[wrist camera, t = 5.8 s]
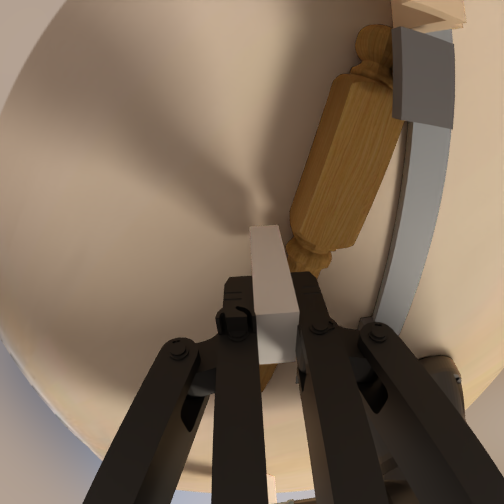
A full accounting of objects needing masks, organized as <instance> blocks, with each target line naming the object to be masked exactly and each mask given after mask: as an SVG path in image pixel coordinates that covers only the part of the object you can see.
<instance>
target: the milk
mask: <svg viewBox="0 0 504 504" xmlns="http://www.w3.org/2000/svg"><path fill="white" fill-rule="evenodd" d="M267 487H268V502H269V504H274V503H277V499H276V485H275V477H274V476H272V475H269V474H267Z"/></svg>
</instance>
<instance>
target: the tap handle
mask: <svg viewBox="0 0 504 504" xmlns="http://www.w3.org/2000/svg"><path fill="white" fill-rule="evenodd" d="M391 29H393V28H391V27H388V26H385V25H380V24H375V25H368V26H366V27H364V28H363V29H361V30H360V32H359V34H358V36H357V40H356V43H355V49H356V53H357V55H358V57H359V58H360V59H361V61H362V62H361V63H360V64H359V65H357V66H354V67H352V68H351V71H350V74H340V75H339V76H338V77H337V78H336V79H335V80H334V81H333V83H332V86H331V89H330V93H329V96H328V99H327V102H326V105H325V108H324V111H323V114H322V117H321V120H320V123H319V126H318V129H317V132H316V135H315V138H314V141H313V144H312V147H311V150H310V153H309V156H308V159H307V162H306V165H305V168H304V171H303V174H302V177H301V180H300V183H299V186H298V189H297V192H296V194H295V197H294V200H293V203H292V206H291V209H290V225H291V228H292V232H293V235H294V237H293V238H292V239H291V240H290V241H289V242H288V243H287V244H286V251H287V254H288V258H287V262H288V266H289V270H290V272H305V271H309V272H310V273H312V274H313V275H314V276H315V277H316V279H317V278H318V275H319V273H320V271H321V269H324V268H328V266H329V264H330V262H331V260H332V255H331V251H336V249H341V248H347V247H351V246H353V245H354V243H355V241H356V239H357V237H358V235H359V233H360V230H361V228H362V226H363V224H364V222H365V219H366V217H367V215H368V213H369V210H370V208H371V206H372V204H373V201H374V199H375V196H376V194H377V192H378V189H379V187H380V185H381V182H382V180H383V177H384V175H385V172H386V170H387V167H388V165H389V162H390V159H391V157H392V154H393V152H394V149H395V146H396V143H397V141H398V138H399V135H400V132H401V130H402V127H403V124H404V120H399V119H395V118H392V104H393V77H392V73H393V52H392V32H391ZM277 365H278V363H273V364H259V369H260V384H261V392H263V390H264V389H265V387H266V385H267V383H268V382H269V380H270V379H271V377H272V375H273V373H274V371H275V369H276V367H277Z"/></svg>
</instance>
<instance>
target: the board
mask: <svg viewBox="0 0 504 504" xmlns="http://www.w3.org/2000/svg"><path fill="white" fill-rule="evenodd" d="M391 9H392V20H393V29H391V32H392V52H393V104H392V118H395V119H399V120H404V121H408V130H407V142H406V152H405V162H404V170H403V178H402V185H401V192H400V198H399V204H398V210H397V216H396V221H395V227H394V232H393V237H392V241H391V246H390V251H389V255H388V259H387V264H386V268H385V272H384V276H383V280H382V284H381V287H380V291H379V295H378V298H377V302H376V305H375V309H374V312H373V315H372V317H365V318H361V319H360V323H359V326H358V330H360V331H361V329H362V327H363V326H364V325H366V324H367V323H370V322H382V323H384V324H386V325H388V326H389V327H391V328H392V329H393V330H394V332H395V333H396V334H397V335H398V336H399V334H400V332H401V329H402V327H403V325H404V322H405V320H406V317H407V314H408V312H409V309H410V306H411V304H412V301H413V298H414V295H415V293H416V290H417V287H418V284H419V281H420V278H421V275H422V272H423V268H424V265H425V262H426V259H427V255H428V252H429V248H430V244H431V241H432V237H433V233H434V229H435V225H436V221H437V216H438V212H439V207H440V203H441V198H442V193H443V187H444V182H445V176H446V170H447V163H448V156H449V148H450V139H451V129H452V130H453V118H454V101H455V54H454V44H453V40H452V29H457V28H463V23H466V15H465V8H464V2H463V0H391Z"/></svg>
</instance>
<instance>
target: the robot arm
mask: <svg viewBox="0 0 504 504" xmlns="http://www.w3.org/2000/svg"><path fill="white" fill-rule="evenodd" d="M249 228H250V245H251V262H252V276H240V277H229V279H228V280H227V282H226V283H225V285H224V301H223V308H222V309H220V310H219V311H218V312H217V315H216V317H215V319H216V324H217V330H218V334H217V335H216V336H214V337H213V338H211V339H209V340H206V341H203V342H200V343H195V342H194V341H193V340H191V339H188V338H175V339H171V340H170V341H168V342H167V343H165V344H164V346H163V347H162V348H161V350H160V352H159V354H158V355H157V357H156V359H155V361H154V363H153V365H152V367H151V368H150V370H149V372H148V374H147V376H146V378H145V380H144V381H143V383H142V385H141V387H140V389H139V391H138V393H137V395H136V397H135V399H134V400H133V402H132V404H131V406H130V408H129V410H128V412H127V414H126V416H125V418H124V420H123V422H122V424H121V426H120V428H119V430H118V432H117V433H116V435H115V437H114V439H113V441H112V443H111V445H110V447H109V449H108V451H107V454H106V456H105V458H104V460H103V462H102V464H101V466H100V468H99V470H98V472H97V474H96V476H95V478H94V480H93V482H92V485H91V487H90V489H89V491H88V493H87V495H86V497H85V499H84V502H83V504H170V503H171V500H172V498H173V494H174V492H175V490H176V487H177V484H178V482H179V479H180V476H181V473H182V471H183V468H184V465H185V463H186V460H187V457H188V454H189V452H190V449H191V446H192V443H193V441H194V438H195V435H196V432H197V430H198V427H199V424H200V421H201V419H202V416H203V413H204V410H205V408H206V405H207V402H208V399H209V397H210V394H213V393H215V406H214V429H213V456H212V498H211V504H269V502H268V487H267V473H266V458H265V443H264V428H263V413H262V398H261V384H260V369H259V364H273V363H286V362H295V361H296V358H297V363H298V366H297V376H296V384H297V383H299V389H300V395H301V401H302V407H303V414H304V420H305V427H306V433H307V440H308V447H309V454H310V460H311V467H312V475H313V482H314V489H315V498H309V499H303V500H296V501H294V500H293V499H292V500H288V501H287V502H281V503H274V504H504V477H503V476H502V474H501V473H500V471H499V470H498V468H497V467H496V465H495V463H494V462H493V460H492V459H491V458H490V456H489V454H488V453H487V451H486V450H485V449H484V447H483V446H482V444H481V443H480V441H479V440H478V439H477V437H476V436H475V434H474V433H473V431H472V430H471V429H470V427H469V426H468V424H467V422H466V419H465V409H464V398H463V391H462V385H461V375H460V373H459V371H458V369H457V367H456V365H455V363H454V361H453V360H452V359H451V358H449V357H446V356H433V357H428V358H424V359H421V360H418V359H417V358H416V357H415V356H414V354H413V353H412V352H411V351H410V350H409V348H408V347H407V346H406V345H405V343H404V342H403V341H402V340H401V339H400V337H399V336H398V335H397V334H396V333H395V332H394V330H393V329H392V328H391V327H389V326H388V325H386V324H384V323H382V322H370V323H367V324H366V325H364V326H363V327H362V329H361V331H360V330H352V329H346V328H343V327H340V326H338V325H337V323H336V322H335V321H334V320H333V319H332V318H330V316H329V314H328V311H327V308H326V305H325V302H324V299H323V296H322V293H321V290H320V288H319V285H318V282H317V279H316V277H315V276H314V275H313V274H312V273H310V272H309V271H305V272H290V270H289V266H288V262H287V258H286V254H285V250H284V246H283V242H282V238H281V234H280V230H279V226H278V225H263V226H249Z"/></svg>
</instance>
